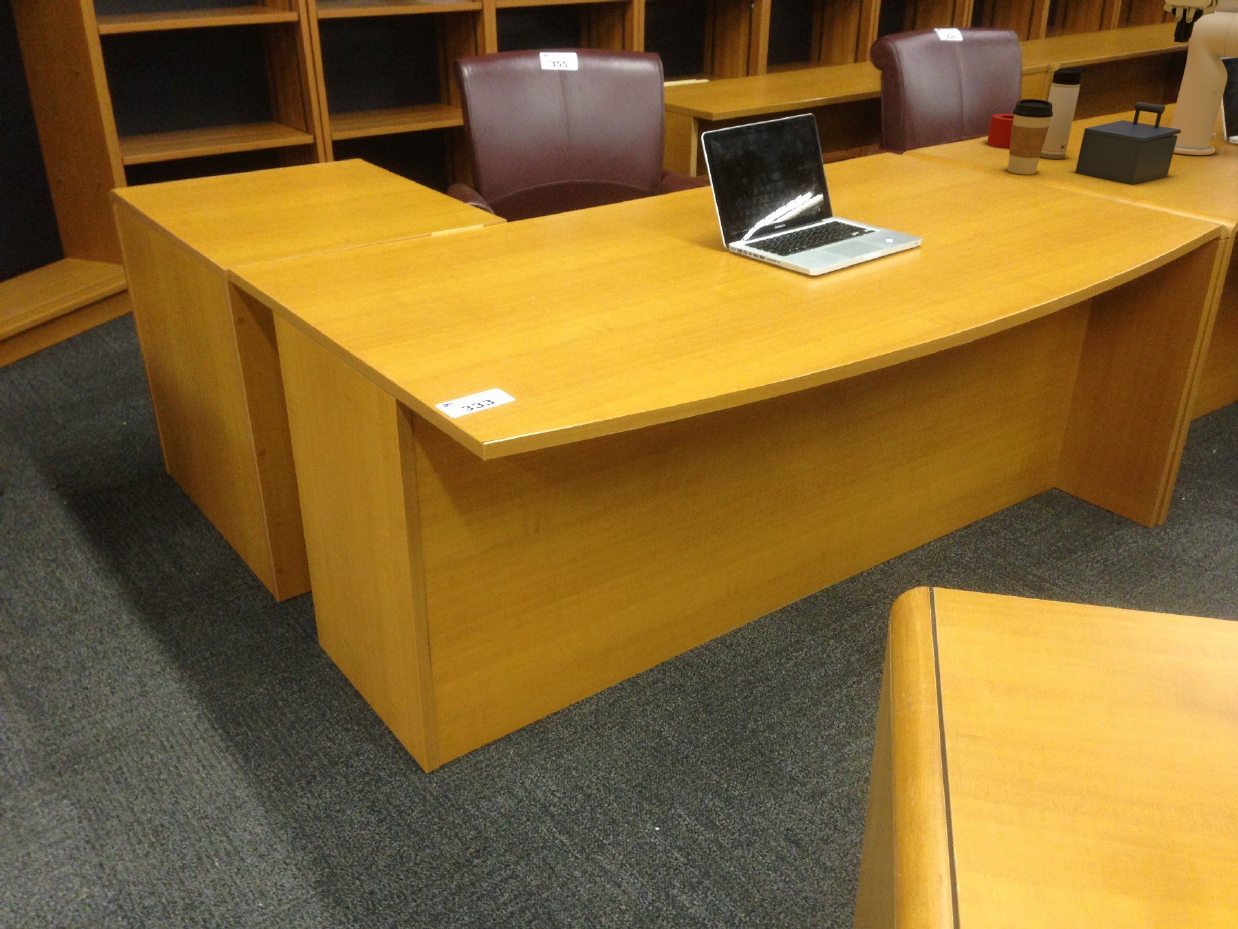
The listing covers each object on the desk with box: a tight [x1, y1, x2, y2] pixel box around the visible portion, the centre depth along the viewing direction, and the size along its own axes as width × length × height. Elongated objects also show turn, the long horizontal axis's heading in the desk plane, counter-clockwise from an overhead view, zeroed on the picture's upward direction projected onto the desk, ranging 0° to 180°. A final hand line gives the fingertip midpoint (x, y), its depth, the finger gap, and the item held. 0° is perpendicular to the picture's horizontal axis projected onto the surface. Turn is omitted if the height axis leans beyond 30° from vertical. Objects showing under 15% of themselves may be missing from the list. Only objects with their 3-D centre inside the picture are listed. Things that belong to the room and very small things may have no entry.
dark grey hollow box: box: [1075, 131, 1178, 185], centre depth 232 cm, size 15×14×9 cm
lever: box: [986, 113, 1014, 149], centre depth 259 cm, size 18×9×7 cm, turn 59°
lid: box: [1083, 101, 1181, 142], centre depth 229 cm, size 15×14×6 cm
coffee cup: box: [1007, 98, 1053, 176], centre depth 231 cm, size 8×8×15 cm
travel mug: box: [1040, 67, 1086, 160], centre depth 246 cm, size 6×7×20 cm
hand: (1180, 41), depth 228 cm, fingers closed
